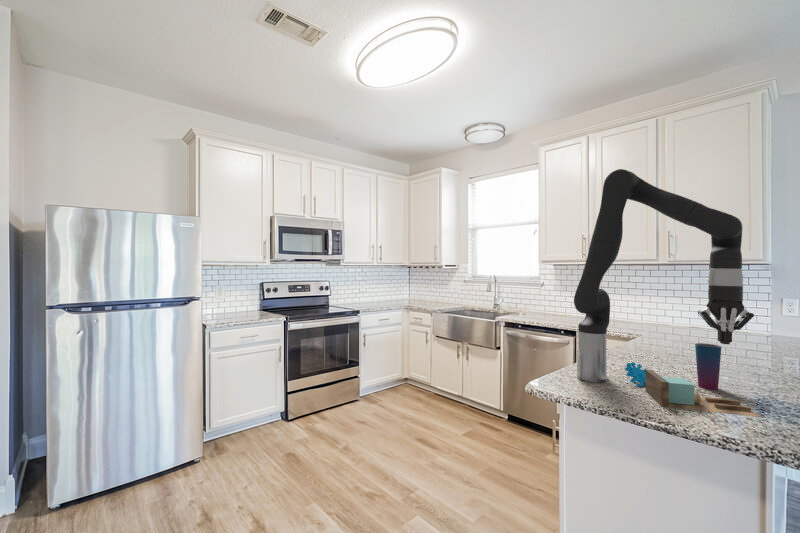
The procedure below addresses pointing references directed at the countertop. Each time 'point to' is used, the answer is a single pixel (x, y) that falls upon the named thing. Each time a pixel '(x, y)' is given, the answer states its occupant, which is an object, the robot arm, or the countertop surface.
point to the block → (680, 391)
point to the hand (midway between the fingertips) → (724, 343)
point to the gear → (636, 373)
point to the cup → (708, 365)
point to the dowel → (697, 398)
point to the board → (660, 394)
